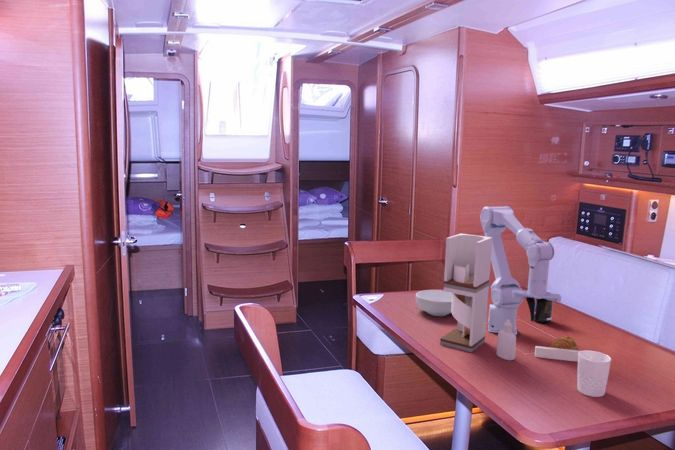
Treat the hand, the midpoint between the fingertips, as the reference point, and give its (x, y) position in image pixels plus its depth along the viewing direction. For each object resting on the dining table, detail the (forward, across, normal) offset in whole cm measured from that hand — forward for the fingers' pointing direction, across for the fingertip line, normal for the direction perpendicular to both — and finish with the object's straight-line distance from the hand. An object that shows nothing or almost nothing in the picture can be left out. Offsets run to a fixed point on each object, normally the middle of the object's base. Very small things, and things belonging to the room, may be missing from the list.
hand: (534, 320), depth 175 cm
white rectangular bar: (+8, +7, -9) cm, 14 cm away
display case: (+9, -22, -5) cm, 24 cm away
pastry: (+9, +10, 0) cm, 13 cm away
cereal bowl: (+9, -32, +24) cm, 41 cm away
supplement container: (+9, +6, +27) cm, 29 cm away
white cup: (+9, +12, -30) cm, 33 cm away
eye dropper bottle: (+9, -9, -13) cm, 18 cm away
